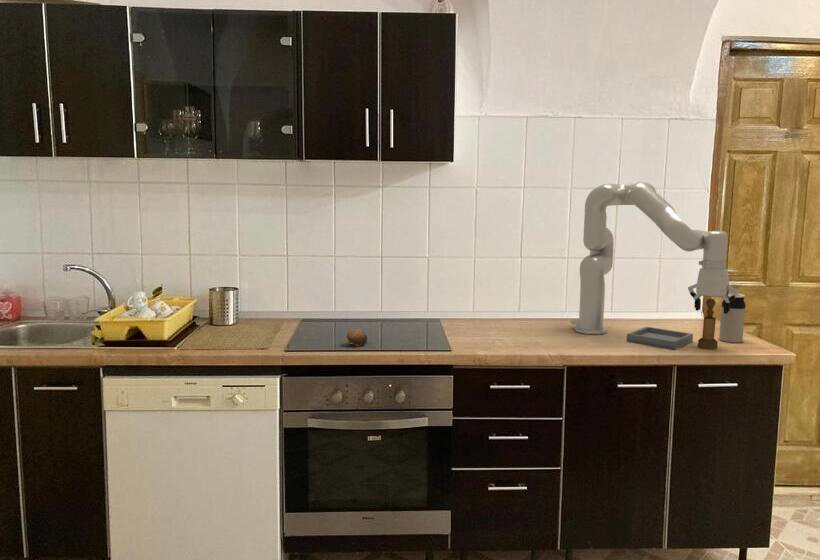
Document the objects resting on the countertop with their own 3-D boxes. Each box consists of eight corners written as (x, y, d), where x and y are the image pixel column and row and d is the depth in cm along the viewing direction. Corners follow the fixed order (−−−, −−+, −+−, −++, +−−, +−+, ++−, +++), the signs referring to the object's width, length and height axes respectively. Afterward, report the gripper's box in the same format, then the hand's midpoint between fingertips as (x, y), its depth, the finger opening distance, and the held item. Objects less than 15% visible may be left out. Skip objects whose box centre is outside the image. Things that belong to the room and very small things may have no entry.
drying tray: (626, 341, 233) (627, 333, 232) (646, 333, 246) (646, 326, 245) (674, 350, 221) (675, 341, 220) (692, 341, 233) (693, 333, 233)
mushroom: (342, 334, 228) (349, 322, 225) (360, 340, 232) (368, 328, 229) (343, 348, 222) (351, 336, 219) (362, 354, 225) (370, 343, 222)
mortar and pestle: (715, 350, 221) (719, 301, 218) (695, 347, 224) (699, 299, 222) (718, 346, 226) (722, 298, 223) (700, 344, 230) (703, 296, 227)
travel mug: (728, 343, 231) (732, 296, 228) (714, 338, 238) (718, 293, 236) (747, 342, 232) (751, 296, 230) (732, 337, 240) (736, 292, 237)
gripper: (685, 264, 224) (683, 310, 226) (737, 267, 212) (734, 316, 214) (692, 262, 229) (690, 307, 232) (743, 265, 217) (740, 313, 220)
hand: (711, 311), depth 223 cm, fingers open, 9 cm apart
